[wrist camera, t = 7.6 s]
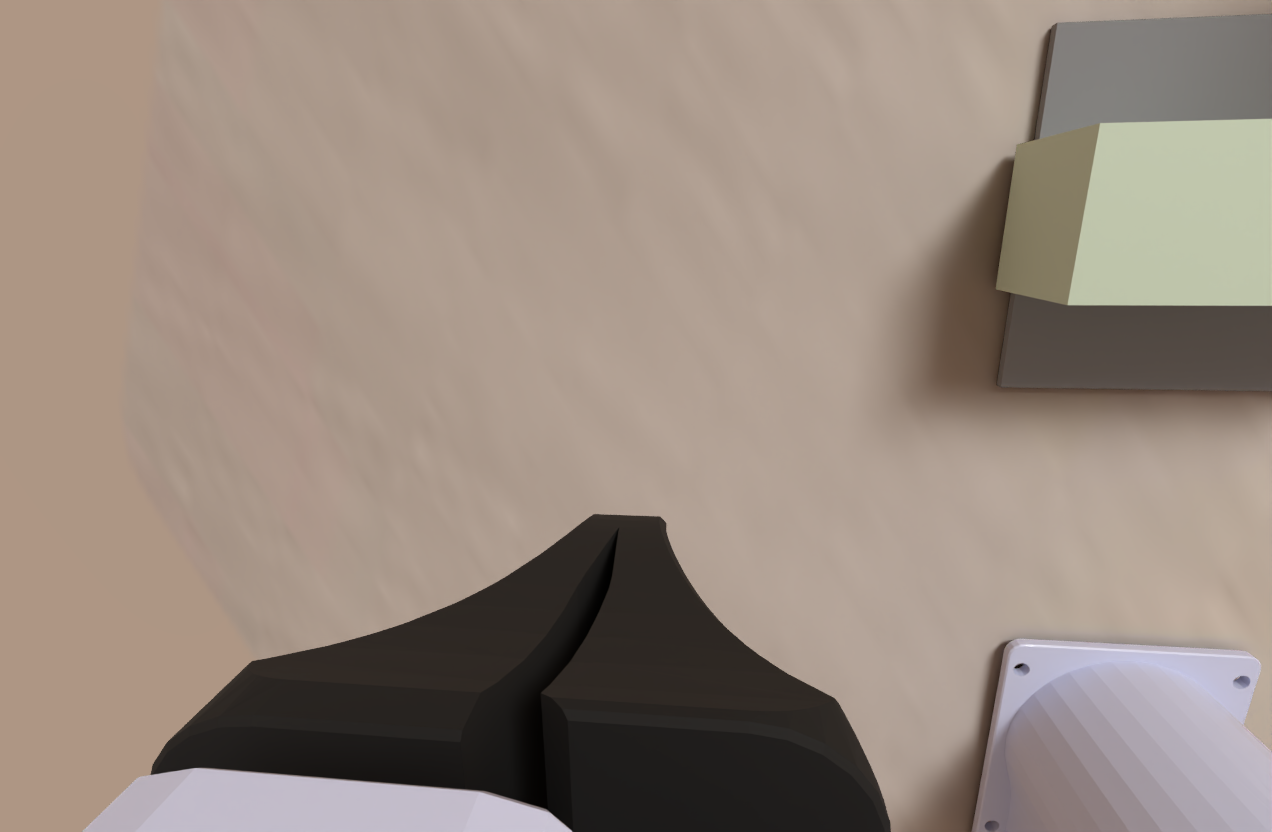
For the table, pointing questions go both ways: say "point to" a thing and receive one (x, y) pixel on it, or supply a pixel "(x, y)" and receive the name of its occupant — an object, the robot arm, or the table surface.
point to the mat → (1146, 92)
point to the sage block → (1143, 215)
